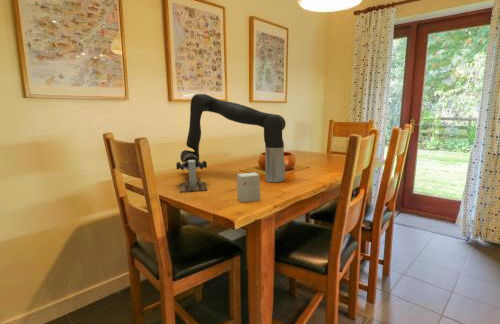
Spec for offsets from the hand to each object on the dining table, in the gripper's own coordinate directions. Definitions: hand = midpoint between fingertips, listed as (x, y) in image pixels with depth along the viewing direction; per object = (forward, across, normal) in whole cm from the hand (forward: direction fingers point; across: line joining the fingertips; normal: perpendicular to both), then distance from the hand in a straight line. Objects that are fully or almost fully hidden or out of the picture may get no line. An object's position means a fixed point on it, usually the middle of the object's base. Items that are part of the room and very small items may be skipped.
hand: (192, 167), depth 133 cm
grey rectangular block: (-1, 0, +9) cm, 9 cm away
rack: (-1, 0, +10) cm, 10 cm away
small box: (+24, +21, +10) cm, 33 cm away
